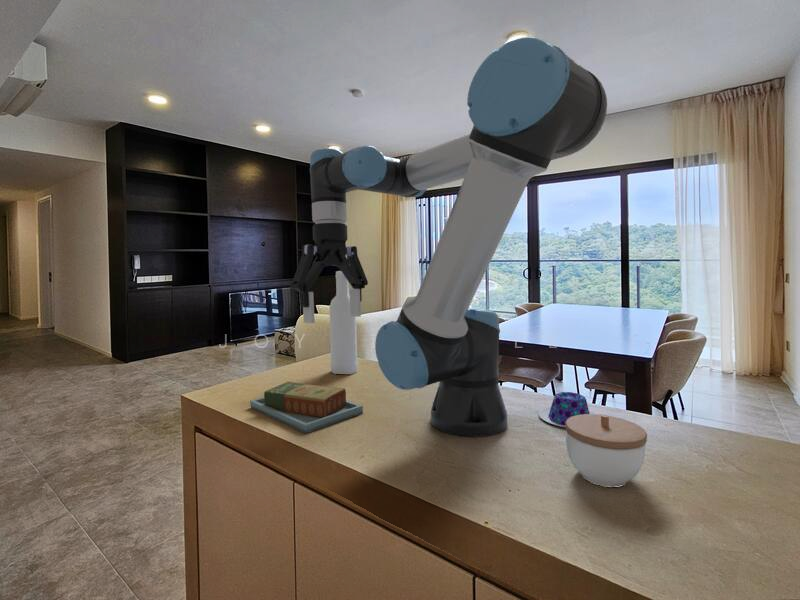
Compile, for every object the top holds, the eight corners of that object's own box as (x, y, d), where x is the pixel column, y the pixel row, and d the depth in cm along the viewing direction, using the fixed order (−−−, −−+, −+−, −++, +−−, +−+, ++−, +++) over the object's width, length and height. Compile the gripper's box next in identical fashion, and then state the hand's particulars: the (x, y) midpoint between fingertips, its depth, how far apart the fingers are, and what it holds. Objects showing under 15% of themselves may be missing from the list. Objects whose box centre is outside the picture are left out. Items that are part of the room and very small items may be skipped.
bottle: (362, 371, 124) (361, 270, 121) (341, 376, 119) (338, 271, 116) (347, 367, 130) (345, 270, 127) (325, 371, 124) (323, 271, 122)
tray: (362, 413, 89) (362, 405, 89) (305, 433, 79) (305, 425, 79) (305, 392, 104) (304, 386, 104) (250, 407, 93) (250, 400, 93)
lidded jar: (663, 490, 58) (666, 424, 57) (600, 503, 55) (602, 434, 54) (605, 456, 68) (607, 400, 68) (549, 465, 65) (550, 407, 64)
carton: (325, 419, 84) (324, 399, 84) (263, 409, 91) (262, 390, 90) (346, 406, 92) (346, 387, 91) (288, 397, 98) (287, 380, 98)
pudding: (529, 422, 84) (529, 397, 84) (551, 406, 93) (551, 383, 93) (592, 437, 76) (592, 410, 76) (609, 419, 86) (610, 394, 85)
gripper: (358, 228, 104) (361, 313, 105) (270, 220, 84) (275, 324, 86) (380, 225, 99) (383, 314, 100) (292, 216, 80) (297, 326, 81)
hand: (333, 319), depth 93 cm, fingers open, 13 cm apart
